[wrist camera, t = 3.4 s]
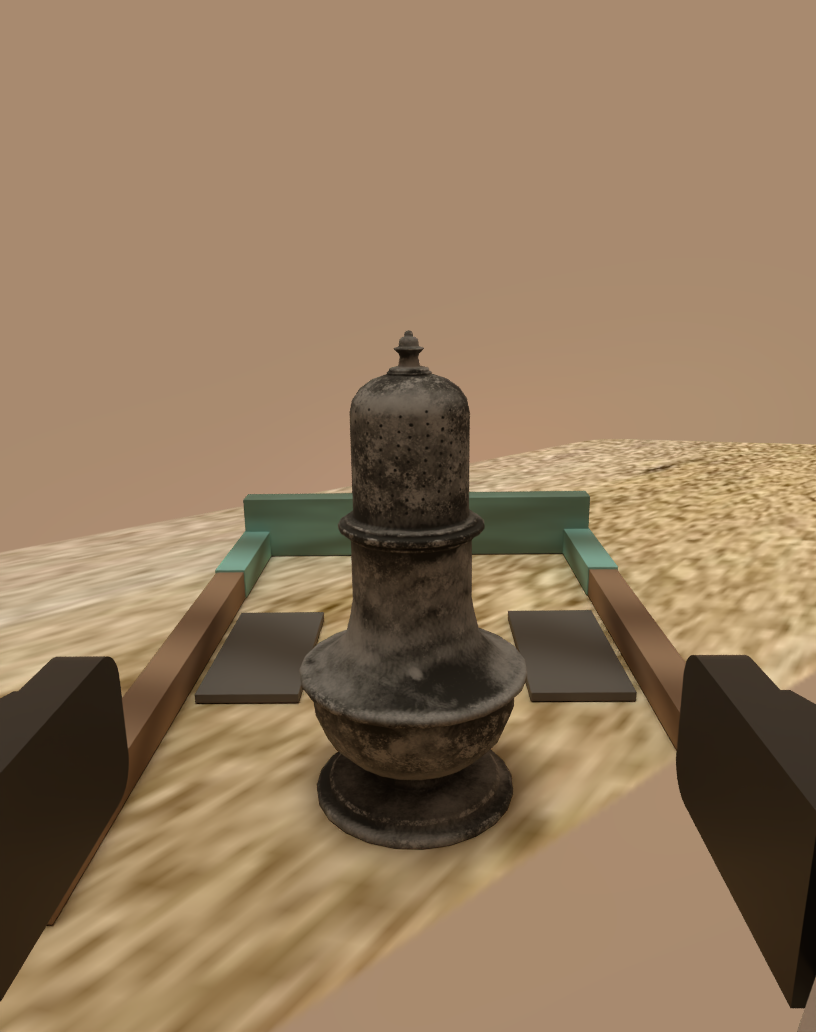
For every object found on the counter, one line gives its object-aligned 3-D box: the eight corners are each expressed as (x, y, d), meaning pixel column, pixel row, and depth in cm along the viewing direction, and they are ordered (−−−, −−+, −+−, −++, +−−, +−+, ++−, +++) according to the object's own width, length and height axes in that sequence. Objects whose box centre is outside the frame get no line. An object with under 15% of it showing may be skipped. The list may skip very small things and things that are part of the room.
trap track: (836, 924, 16) (856, 798, 16) (-6, 924, 17) (-29, 801, 16) (583, 545, 42) (586, 491, 41) (251, 548, 42) (247, 494, 41)
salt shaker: (371, 711, 25) (360, 326, 22) (550, 754, 23) (567, 326, 19) (261, 817, 20) (225, 335, 17) (476, 887, 17) (482, 336, 14)
